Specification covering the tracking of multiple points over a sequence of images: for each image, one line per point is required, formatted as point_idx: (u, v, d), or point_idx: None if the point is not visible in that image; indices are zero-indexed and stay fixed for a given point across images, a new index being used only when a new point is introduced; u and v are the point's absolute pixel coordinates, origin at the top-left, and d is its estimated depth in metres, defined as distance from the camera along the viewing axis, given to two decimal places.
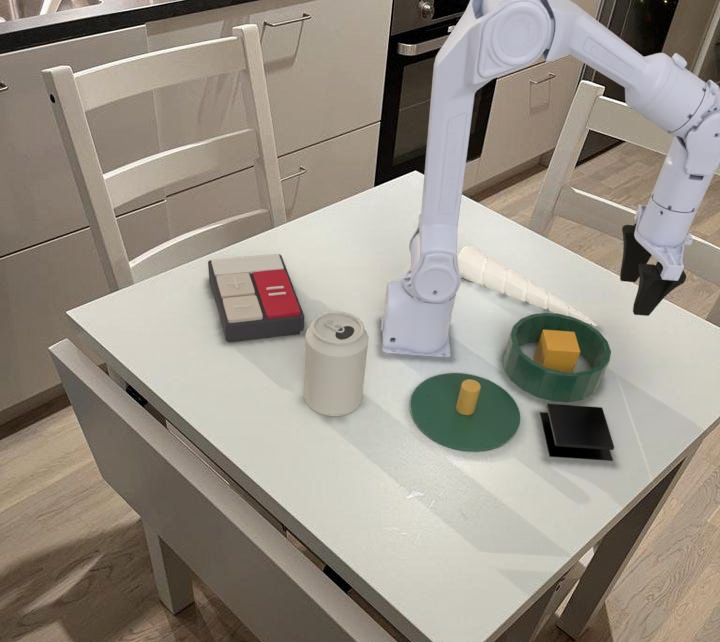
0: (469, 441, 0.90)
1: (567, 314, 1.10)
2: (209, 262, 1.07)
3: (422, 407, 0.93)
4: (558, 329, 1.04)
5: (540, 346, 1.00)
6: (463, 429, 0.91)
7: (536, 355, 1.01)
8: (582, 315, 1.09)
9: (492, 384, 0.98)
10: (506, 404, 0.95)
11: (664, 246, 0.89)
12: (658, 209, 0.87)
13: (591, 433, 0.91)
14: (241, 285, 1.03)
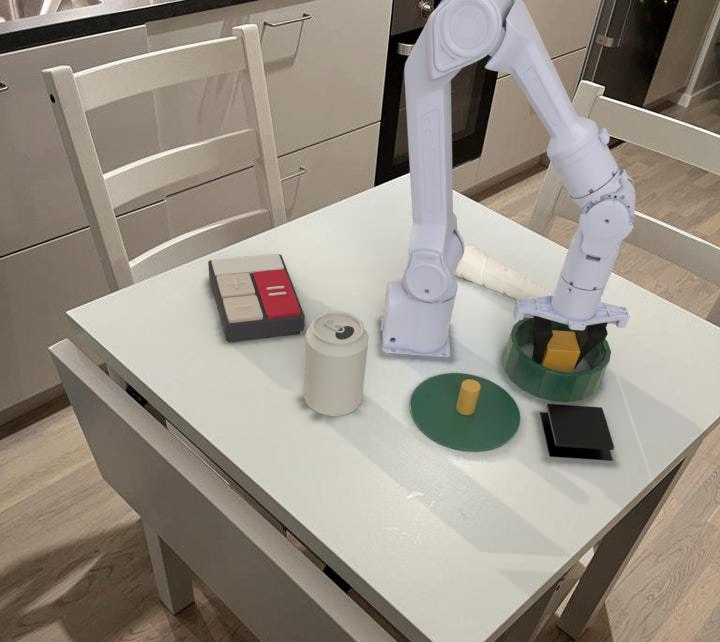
0: (469, 441, 0.90)
1: None
2: (209, 262, 1.07)
3: (422, 407, 0.93)
4: (558, 329, 1.04)
5: None
6: (463, 429, 0.91)
7: None
8: None
9: (492, 384, 0.98)
10: (506, 404, 0.95)
11: (551, 304, 0.94)
12: None
13: (591, 433, 0.91)
14: (241, 285, 1.03)
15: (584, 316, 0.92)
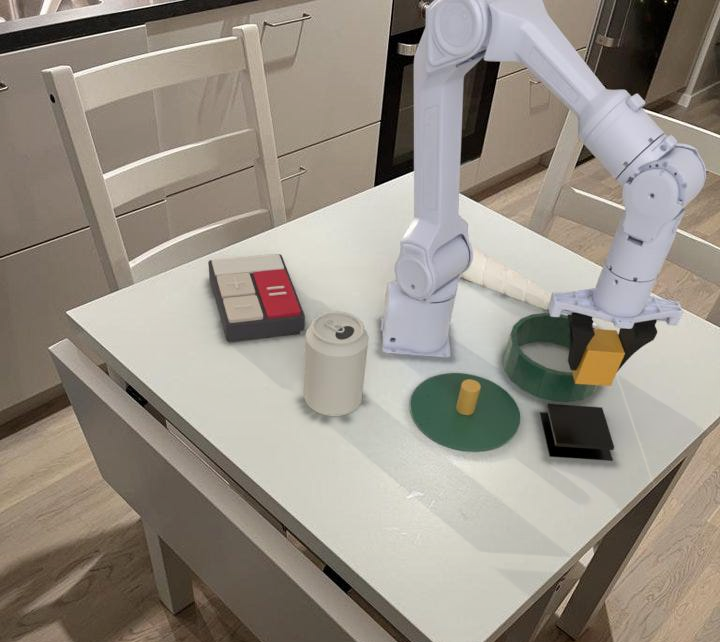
0: (469, 441, 0.90)
1: None
2: (209, 262, 1.07)
3: (422, 407, 0.93)
4: (558, 329, 1.04)
5: None
6: (463, 429, 0.91)
7: None
8: None
9: (492, 384, 0.98)
10: (506, 404, 0.95)
11: (592, 299, 0.82)
12: None
13: (591, 433, 0.91)
14: (241, 285, 1.03)
15: (632, 312, 0.79)
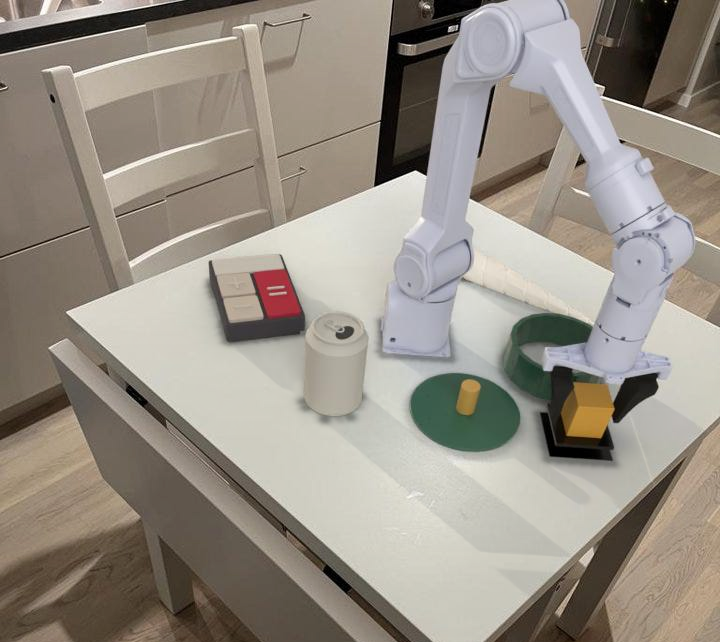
0: (469, 441, 0.90)
1: (567, 314, 1.10)
2: (209, 262, 1.07)
3: (422, 407, 0.93)
4: (558, 329, 1.04)
5: (568, 401, 0.90)
6: (463, 429, 0.91)
7: (564, 410, 0.91)
8: (582, 315, 1.09)
9: (492, 384, 0.98)
10: (506, 404, 0.95)
11: (584, 353, 0.84)
12: None
13: None
14: (242, 285, 1.03)
15: (622, 368, 0.81)
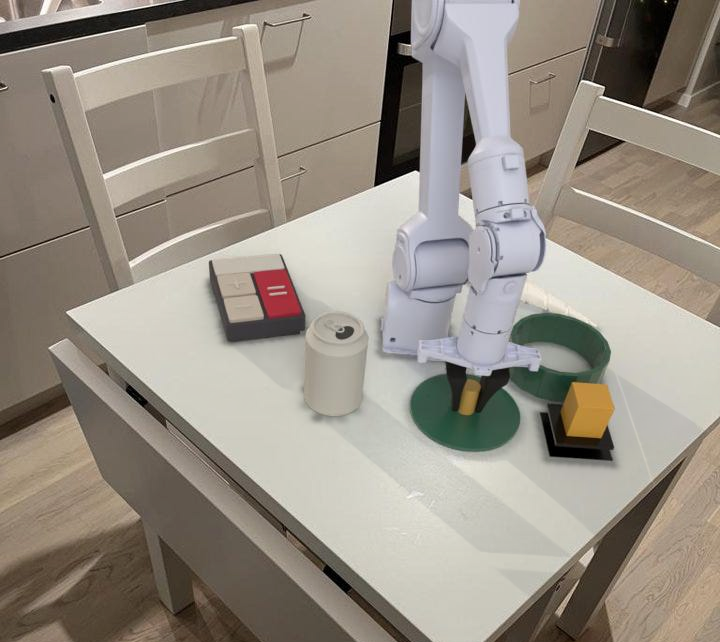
0: (469, 441, 0.90)
1: (567, 315, 1.10)
2: (210, 262, 1.07)
3: (422, 407, 0.94)
4: (558, 329, 1.04)
5: (568, 401, 0.90)
6: (463, 429, 0.91)
7: (564, 410, 0.91)
8: (582, 316, 1.09)
9: None
10: (506, 404, 0.95)
11: (456, 346, 0.87)
12: None
13: None
14: (242, 285, 1.03)
15: (490, 360, 0.85)
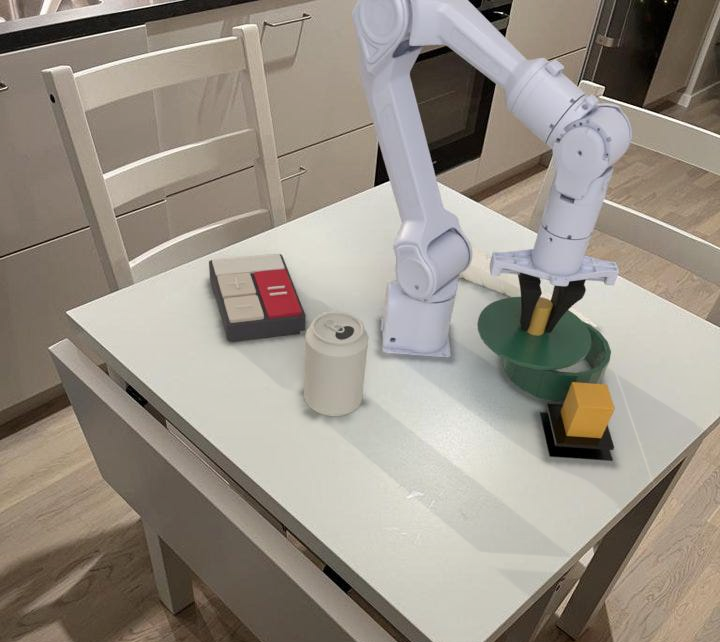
0: (541, 359, 0.88)
1: None
2: (210, 262, 1.07)
3: (490, 327, 0.91)
4: None
5: (568, 401, 0.90)
6: (534, 348, 0.89)
7: (564, 410, 0.91)
8: (582, 316, 1.09)
9: None
10: (576, 326, 0.93)
11: (531, 258, 0.84)
12: None
13: None
14: (242, 285, 1.03)
15: (567, 270, 0.82)
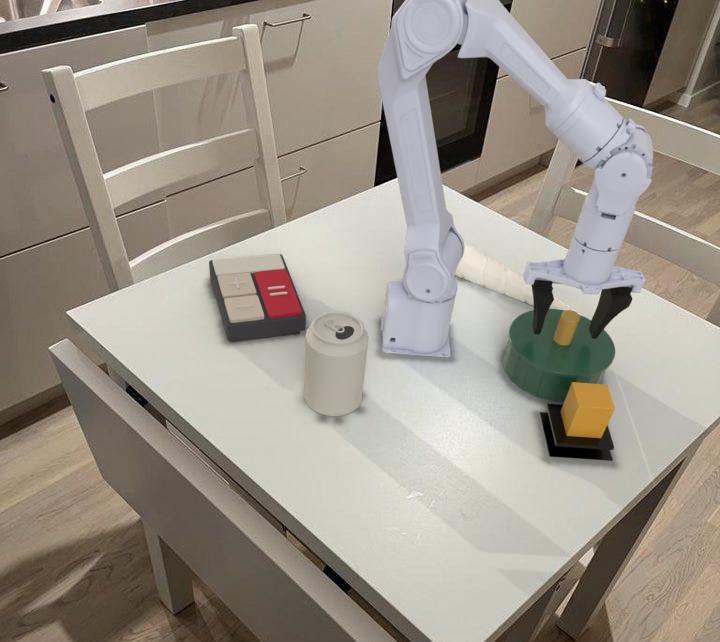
0: (570, 368, 0.94)
1: None
2: (210, 262, 1.07)
3: (521, 338, 0.97)
4: None
5: (568, 401, 0.90)
6: (563, 357, 0.95)
7: (564, 410, 0.91)
8: None
9: (585, 319, 1.01)
10: (600, 336, 0.99)
11: (563, 268, 0.90)
12: None
13: None
14: (242, 285, 1.03)
15: (598, 279, 0.88)
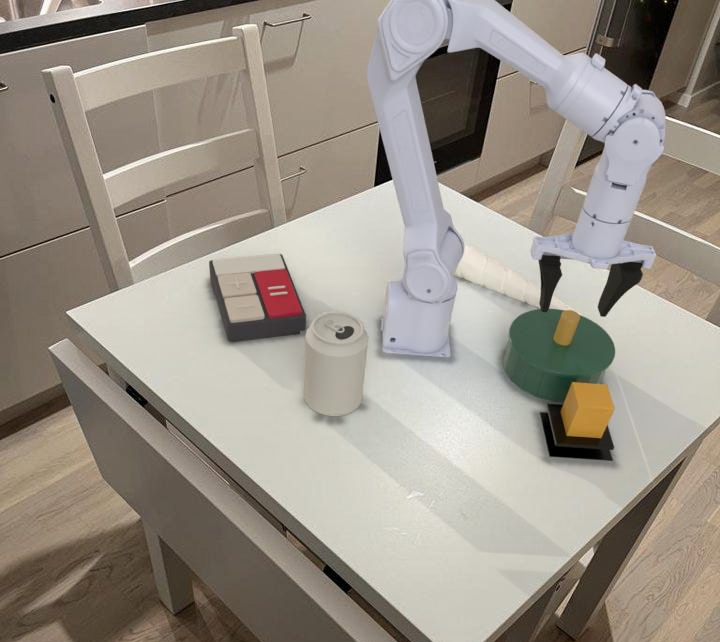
0: (570, 368, 0.94)
1: None
2: (210, 262, 1.07)
3: (521, 338, 0.97)
4: None
5: (568, 401, 0.90)
6: (563, 357, 0.95)
7: (564, 410, 0.91)
8: None
9: (585, 319, 1.01)
10: (600, 336, 0.99)
11: (571, 242, 0.87)
12: None
13: None
14: (242, 285, 1.03)
15: (608, 254, 0.85)
